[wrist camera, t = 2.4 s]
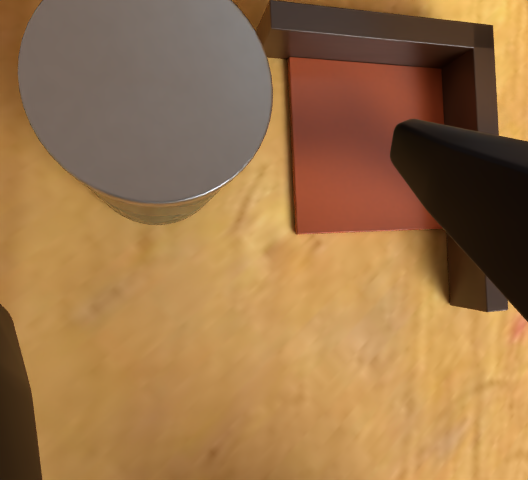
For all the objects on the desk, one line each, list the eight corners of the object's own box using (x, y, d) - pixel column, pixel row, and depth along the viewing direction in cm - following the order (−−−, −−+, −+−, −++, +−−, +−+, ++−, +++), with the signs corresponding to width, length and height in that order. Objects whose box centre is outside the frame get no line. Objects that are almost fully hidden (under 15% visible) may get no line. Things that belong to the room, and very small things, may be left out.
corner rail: (469, 303, 21) (508, 310, 19) (268, 322, 19) (284, 332, 16) (455, 50, 22) (493, 24, 19) (255, 31, 19) (269, -1, 16)
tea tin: (237, 205, 18) (300, 170, 10) (109, 242, 17) (63, 234, 9) (200, 83, 18) (235, -55, 10) (67, 110, 17) (-21, -26, 8)
